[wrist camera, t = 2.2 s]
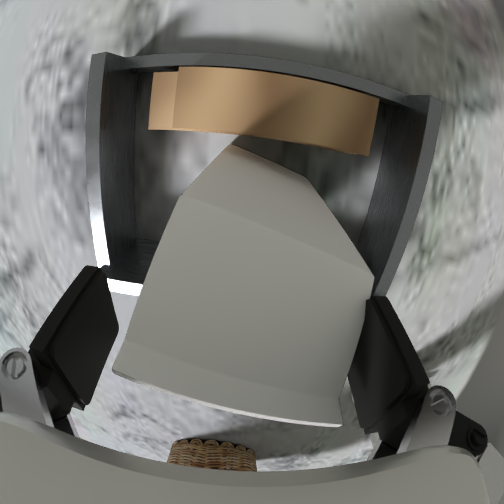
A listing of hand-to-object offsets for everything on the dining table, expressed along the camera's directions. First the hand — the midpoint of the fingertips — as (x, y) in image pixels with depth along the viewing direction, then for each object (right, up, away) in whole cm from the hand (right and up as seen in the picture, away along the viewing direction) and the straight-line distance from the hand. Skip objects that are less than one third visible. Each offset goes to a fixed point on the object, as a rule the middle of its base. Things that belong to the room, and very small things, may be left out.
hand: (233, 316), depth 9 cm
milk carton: (+1, +7, +14) cm, 16 cm away
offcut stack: (+2, +14, +10) cm, 17 cm away
